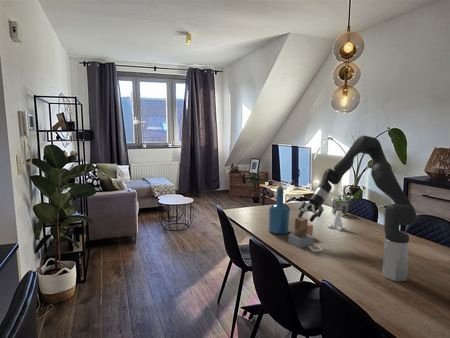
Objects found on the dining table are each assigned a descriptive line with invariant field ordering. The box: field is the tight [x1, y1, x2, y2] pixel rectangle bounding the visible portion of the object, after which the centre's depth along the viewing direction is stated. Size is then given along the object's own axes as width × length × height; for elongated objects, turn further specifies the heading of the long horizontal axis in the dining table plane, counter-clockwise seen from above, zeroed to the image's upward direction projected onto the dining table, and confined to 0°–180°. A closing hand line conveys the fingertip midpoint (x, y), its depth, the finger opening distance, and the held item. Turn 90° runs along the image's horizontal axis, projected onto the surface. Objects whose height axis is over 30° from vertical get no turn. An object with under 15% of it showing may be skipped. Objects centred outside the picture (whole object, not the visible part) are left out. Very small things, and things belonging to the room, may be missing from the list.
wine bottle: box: [267, 184, 291, 235], centre depth 192 cm, size 14×13×30 cm
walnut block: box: [293, 216, 309, 238], centre depth 173 cm, size 5×5×10 cm
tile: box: [307, 245, 324, 253], centre depth 166 cm, size 6×6×1 cm
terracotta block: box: [307, 222, 314, 237], centre depth 185 cm, size 5×5×8 cm
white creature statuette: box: [327, 211, 344, 232], centre depth 201 cm, size 10×9×12 cm
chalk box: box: [331, 194, 349, 217], centre depth 235 cm, size 9×9×15 cm
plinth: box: [287, 232, 315, 249], centre depth 174 cm, size 10×10×5 cm
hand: (304, 219), depth 174 cm, fingers open, 8 cm apart
